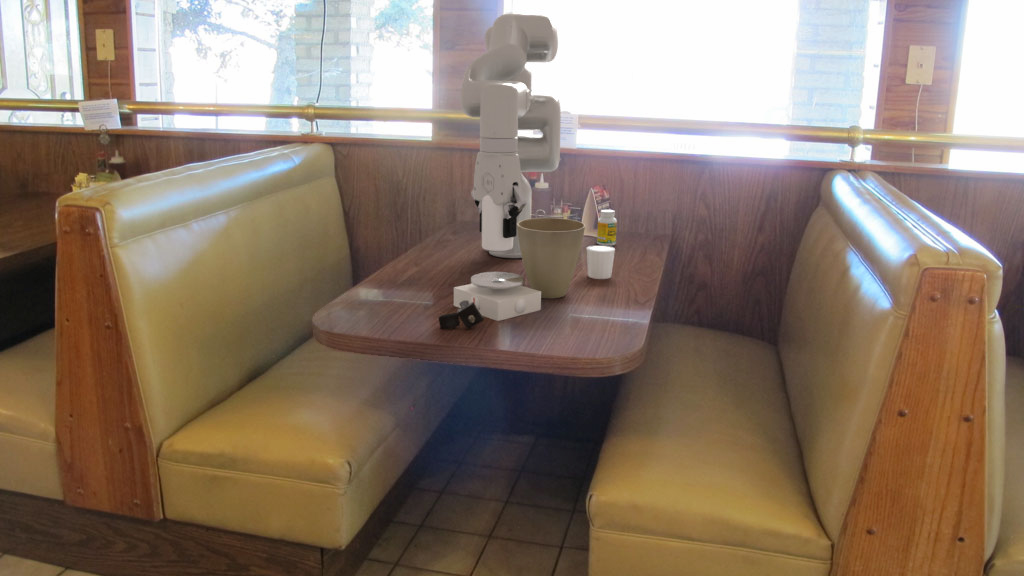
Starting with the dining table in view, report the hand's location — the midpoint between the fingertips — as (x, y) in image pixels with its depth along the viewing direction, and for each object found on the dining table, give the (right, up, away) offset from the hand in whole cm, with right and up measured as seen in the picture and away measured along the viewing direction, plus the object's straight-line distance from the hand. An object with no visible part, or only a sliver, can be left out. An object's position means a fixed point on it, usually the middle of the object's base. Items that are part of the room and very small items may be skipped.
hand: (497, 233), depth 173 cm
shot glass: (+24, -8, +31) cm, 41 cm away
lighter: (-7, -19, -10) cm, 23 cm away
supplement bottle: (+30, +1, +67) cm, 73 cm away
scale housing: (0, -15, +4) cm, 16 cm away
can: (0, -3, +1) cm, 3 cm away
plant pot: (+11, -13, +15) cm, 23 cm away
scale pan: (0, -11, +3) cm, 11 cm away
